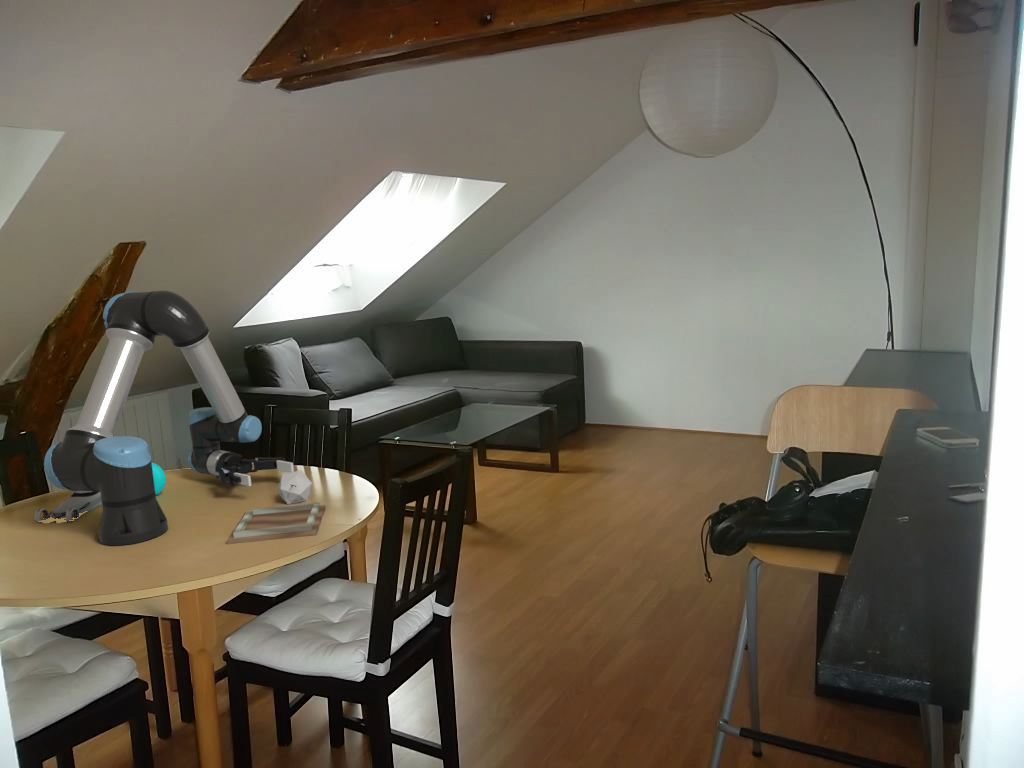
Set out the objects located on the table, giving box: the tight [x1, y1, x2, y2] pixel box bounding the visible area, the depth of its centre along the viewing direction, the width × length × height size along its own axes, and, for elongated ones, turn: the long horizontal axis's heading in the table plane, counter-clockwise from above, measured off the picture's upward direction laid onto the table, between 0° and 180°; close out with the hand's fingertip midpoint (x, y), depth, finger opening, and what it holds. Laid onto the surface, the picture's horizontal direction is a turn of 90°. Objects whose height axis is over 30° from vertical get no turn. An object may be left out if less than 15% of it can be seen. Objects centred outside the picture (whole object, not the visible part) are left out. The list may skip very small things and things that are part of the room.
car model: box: [34, 491, 103, 522], centre depth 217 cm, size 11×24×5 cm, turn 173°
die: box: [276, 470, 313, 505], centre depth 211 cm, size 8×9×10 cm
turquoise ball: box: [152, 462, 167, 496], centre depth 220 cm, size 10×10×10 cm
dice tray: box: [226, 501, 327, 545], centre depth 193 cm, size 20×20×2 cm
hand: (271, 474), depth 216 cm, fingers open, 13 cm apart
